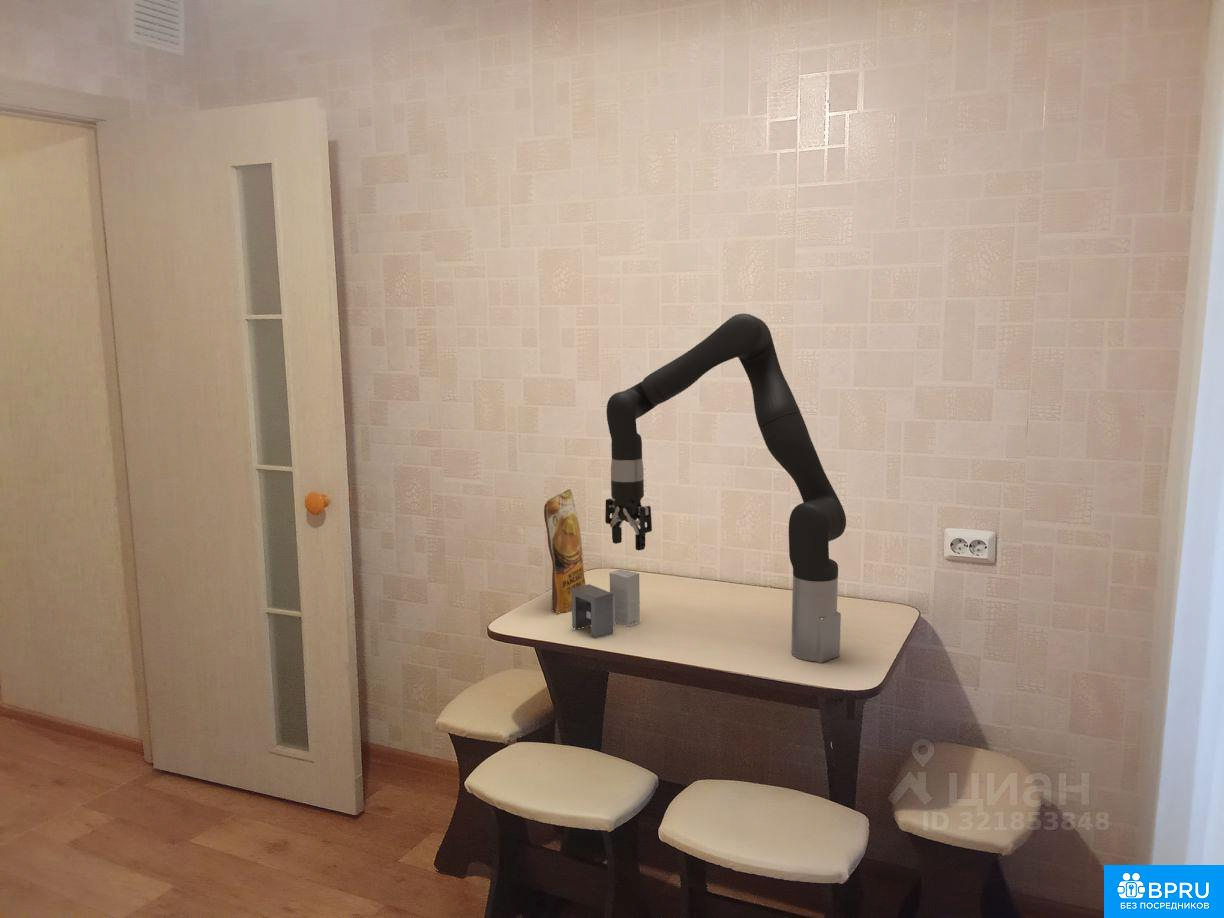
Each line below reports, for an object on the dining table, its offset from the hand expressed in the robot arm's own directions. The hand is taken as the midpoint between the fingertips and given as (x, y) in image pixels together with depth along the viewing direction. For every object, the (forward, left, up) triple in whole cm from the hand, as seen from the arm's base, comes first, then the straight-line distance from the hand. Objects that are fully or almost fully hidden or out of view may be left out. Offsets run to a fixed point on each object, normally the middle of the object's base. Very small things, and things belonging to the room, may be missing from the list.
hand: (628, 546), depth 214 cm
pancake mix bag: (+20, +4, -18) cm, 27 cm away
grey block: (+2, +9, -17) cm, 20 cm away
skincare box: (0, +1, -18) cm, 18 cm away
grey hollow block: (+2, +7, -18) cm, 20 cm away
